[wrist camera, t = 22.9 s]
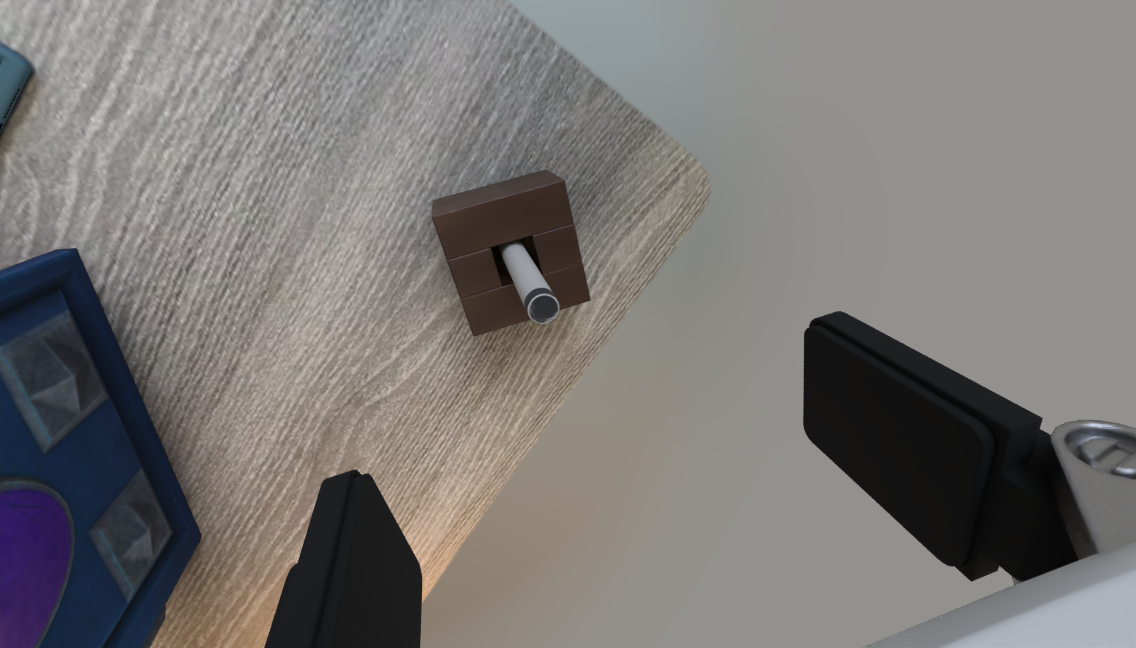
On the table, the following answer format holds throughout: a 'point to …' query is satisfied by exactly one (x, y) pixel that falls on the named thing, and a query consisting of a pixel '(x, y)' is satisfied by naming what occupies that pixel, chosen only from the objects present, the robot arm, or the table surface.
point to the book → (79, 473)
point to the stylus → (529, 283)
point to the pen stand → (504, 217)
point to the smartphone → (11, 80)
